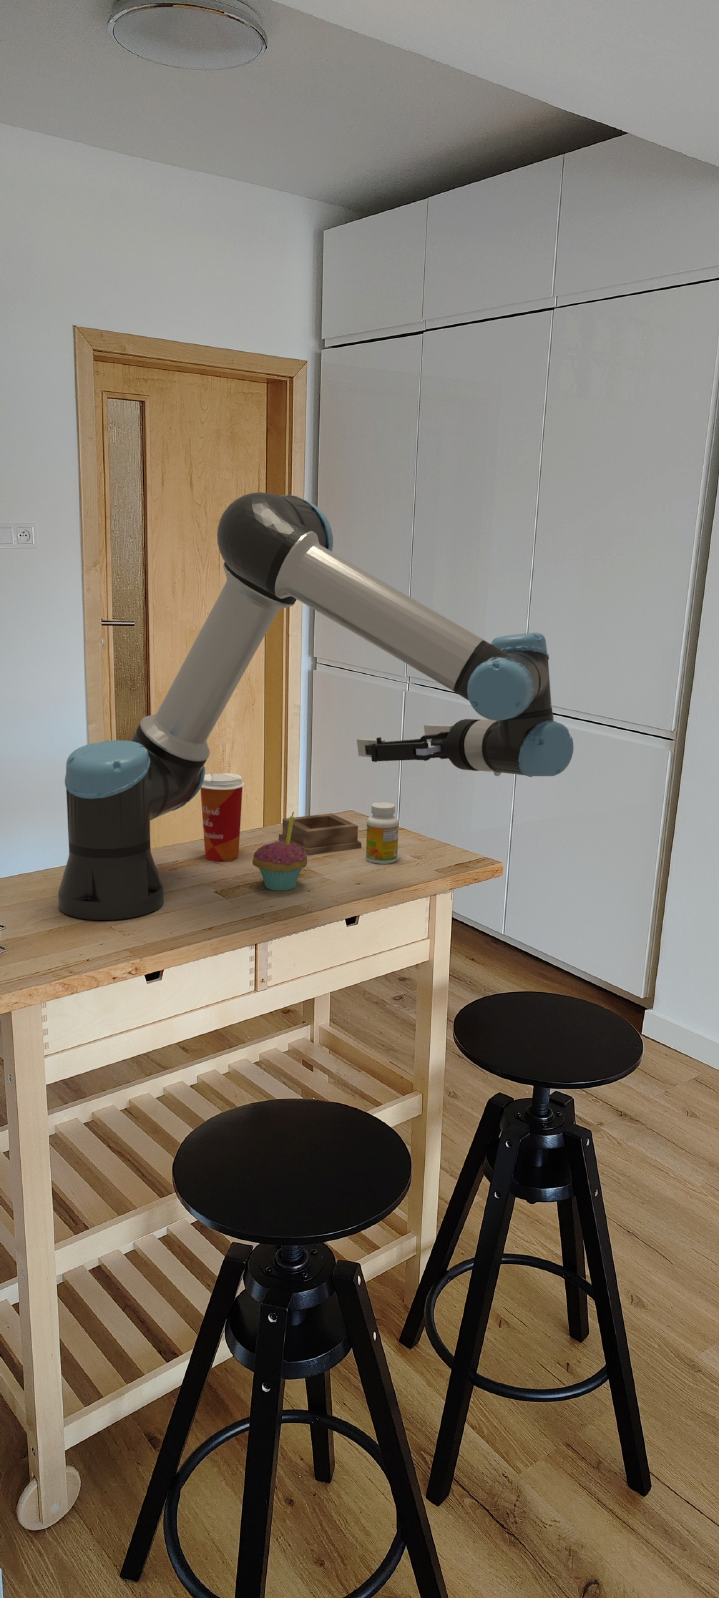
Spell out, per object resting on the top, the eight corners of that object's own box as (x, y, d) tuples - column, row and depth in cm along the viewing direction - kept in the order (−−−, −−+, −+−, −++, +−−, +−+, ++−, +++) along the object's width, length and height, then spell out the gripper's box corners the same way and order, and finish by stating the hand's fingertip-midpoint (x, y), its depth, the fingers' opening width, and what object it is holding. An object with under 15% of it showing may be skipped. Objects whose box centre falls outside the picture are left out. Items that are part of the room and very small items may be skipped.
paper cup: (193, 853, 186) (192, 773, 183) (236, 849, 189) (235, 771, 186) (207, 865, 179) (206, 783, 176) (251, 860, 182) (251, 780, 179)
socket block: (305, 855, 186) (306, 832, 185) (278, 839, 196) (278, 818, 195) (361, 847, 192) (361, 826, 191) (332, 833, 201) (332, 812, 200)
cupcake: (298, 876, 174) (299, 804, 172) (314, 892, 166) (315, 817, 164) (246, 881, 171) (246, 807, 169) (260, 897, 164) (260, 820, 161)
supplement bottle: (360, 857, 186) (361, 802, 183) (387, 854, 188) (389, 800, 186) (375, 866, 181) (377, 809, 179) (403, 862, 184) (404, 806, 181)
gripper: (417, 787, 150) (332, 777, 168) (544, 755, 164) (454, 749, 181) (411, 734, 149) (326, 729, 166) (540, 706, 163) (450, 705, 180)
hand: (393, 739), depth 174 cm, fingers open, 13 cm apart
